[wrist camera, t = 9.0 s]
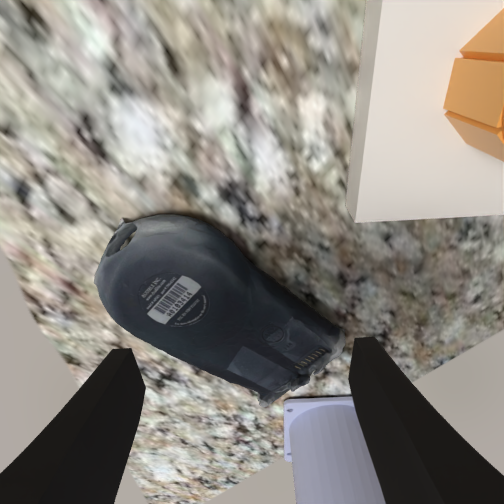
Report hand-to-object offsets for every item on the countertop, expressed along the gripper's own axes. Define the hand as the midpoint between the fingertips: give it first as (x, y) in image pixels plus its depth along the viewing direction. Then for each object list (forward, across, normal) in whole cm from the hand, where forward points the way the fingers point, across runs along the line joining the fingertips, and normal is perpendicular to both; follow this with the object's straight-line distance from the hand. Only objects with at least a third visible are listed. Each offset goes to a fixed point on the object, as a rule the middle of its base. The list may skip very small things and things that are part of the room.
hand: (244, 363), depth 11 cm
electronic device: (+10, +2, +5) cm, 12 cm away
